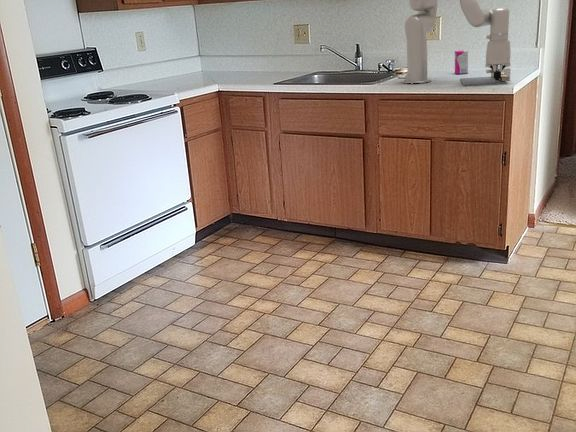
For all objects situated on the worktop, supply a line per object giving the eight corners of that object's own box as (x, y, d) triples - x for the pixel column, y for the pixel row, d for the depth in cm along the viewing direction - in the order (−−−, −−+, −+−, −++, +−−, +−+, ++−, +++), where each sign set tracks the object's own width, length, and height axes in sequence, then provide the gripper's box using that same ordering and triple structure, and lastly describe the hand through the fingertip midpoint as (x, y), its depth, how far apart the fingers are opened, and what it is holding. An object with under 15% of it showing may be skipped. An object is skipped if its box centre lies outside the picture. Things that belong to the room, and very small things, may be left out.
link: (489, 76, 291) (490, 62, 289) (499, 75, 291) (499, 62, 289) (500, 81, 274) (500, 67, 272) (510, 80, 274) (511, 66, 272)
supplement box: (466, 72, 318) (466, 49, 315) (468, 74, 313) (468, 50, 309) (454, 73, 319) (454, 50, 315) (456, 74, 314) (456, 51, 310)
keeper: (486, 82, 283) (486, 70, 281) (486, 81, 285) (486, 69, 283) (510, 80, 281) (510, 68, 279) (509, 79, 283) (509, 68, 281)
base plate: (463, 86, 277) (463, 84, 277) (460, 80, 295) (460, 78, 295) (506, 83, 273) (506, 81, 273) (500, 77, 291) (500, 76, 291)
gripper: (480, 39, 269) (479, 81, 275) (516, 37, 263) (514, 81, 269) (481, 37, 275) (480, 79, 281) (517, 36, 270) (515, 78, 276)
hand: (497, 80), depth 275 cm, fingers closed
